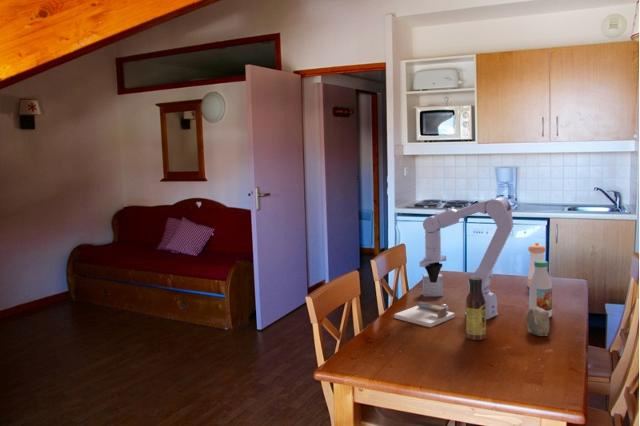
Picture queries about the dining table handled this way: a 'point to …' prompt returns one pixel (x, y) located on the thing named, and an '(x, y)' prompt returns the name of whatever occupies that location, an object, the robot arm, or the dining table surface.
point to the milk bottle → (541, 288)
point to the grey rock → (538, 321)
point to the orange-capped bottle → (535, 258)
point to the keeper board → (425, 315)
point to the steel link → (426, 305)
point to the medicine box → (432, 286)
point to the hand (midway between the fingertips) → (433, 282)
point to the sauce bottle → (475, 310)
